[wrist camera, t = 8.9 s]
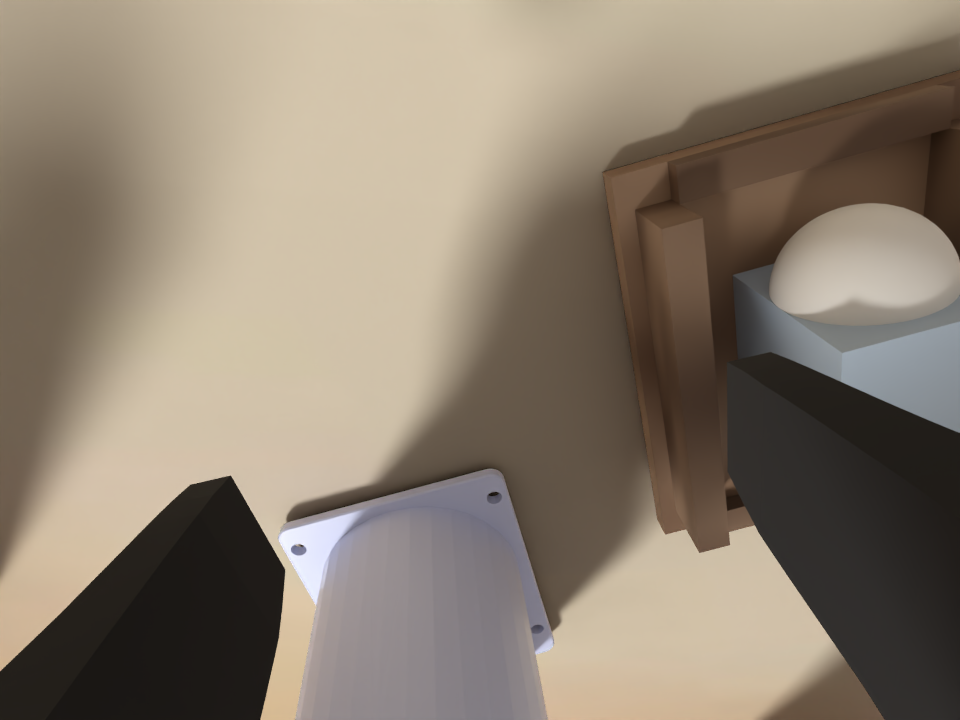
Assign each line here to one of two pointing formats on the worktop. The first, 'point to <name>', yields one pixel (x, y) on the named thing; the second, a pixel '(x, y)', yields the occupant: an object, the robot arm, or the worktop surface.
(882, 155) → the brown tray
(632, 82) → the worktop surface
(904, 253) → the domed blue block
